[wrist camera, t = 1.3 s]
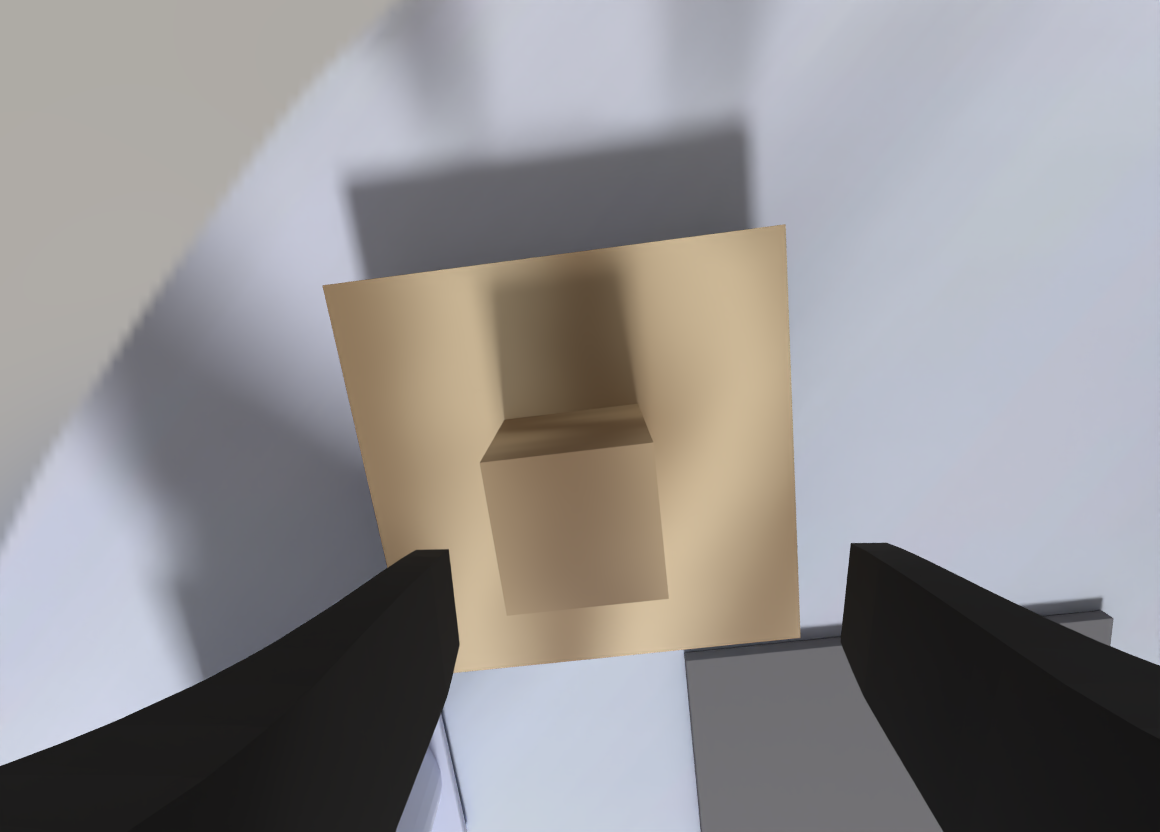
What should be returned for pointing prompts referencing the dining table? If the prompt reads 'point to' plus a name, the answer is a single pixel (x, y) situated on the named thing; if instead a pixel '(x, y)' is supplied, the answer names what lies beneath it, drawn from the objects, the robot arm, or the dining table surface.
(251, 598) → the dining table surface
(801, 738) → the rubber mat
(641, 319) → the oak lid
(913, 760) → the robot arm
